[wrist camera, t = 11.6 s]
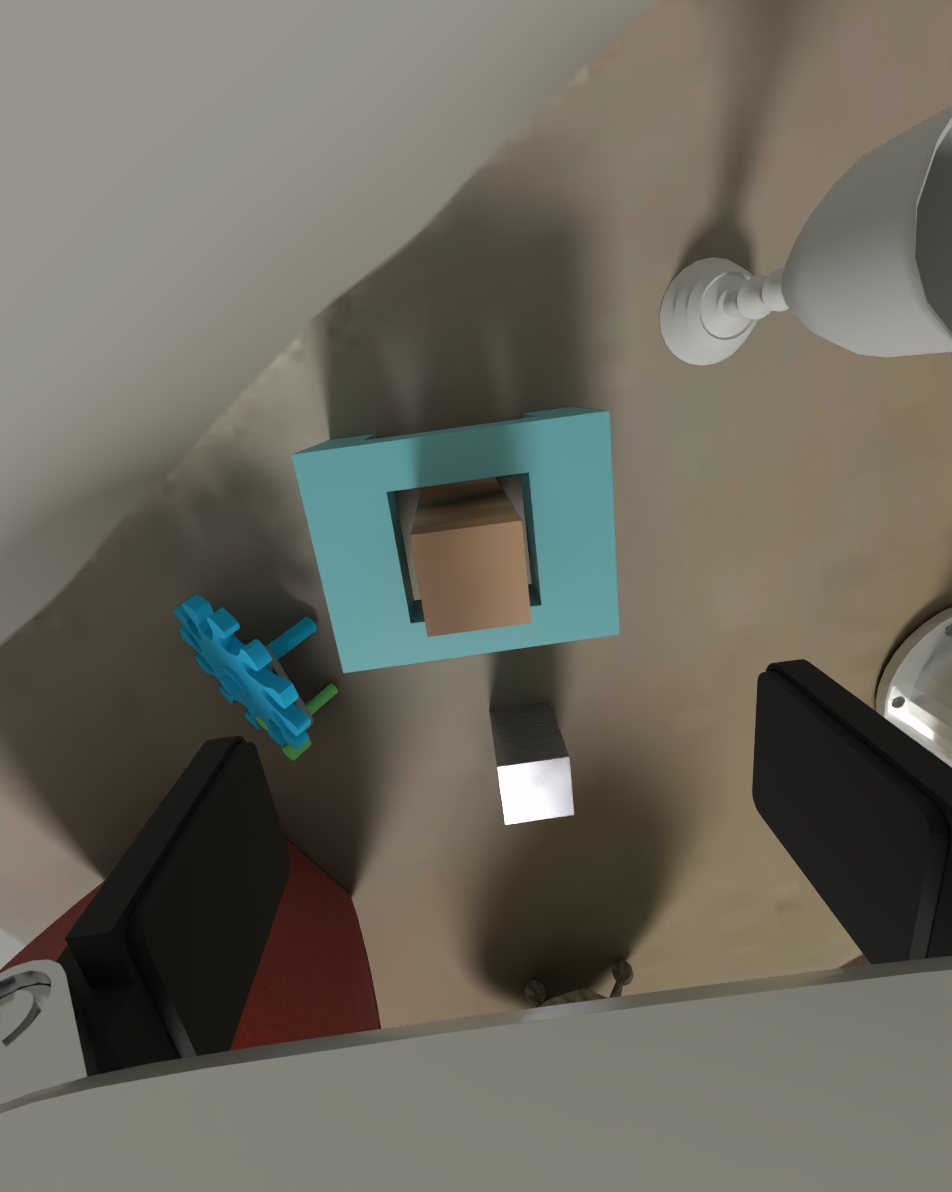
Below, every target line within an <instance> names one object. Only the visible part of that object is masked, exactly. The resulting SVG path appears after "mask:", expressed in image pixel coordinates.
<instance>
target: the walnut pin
mask: <svg viewBox="0 0 952 1192" xmlns="http://www.w3.org/2000/svg"><path fill="white" fill-rule="evenodd" d="M411 541H412V547H413V553H414V559H415V565H416V571H417V577H418V583H419V589H420V595H421V601H422V607H423V613H424V619H425V625H426V631H427V637H432V636H439V635H446V634H454V633H461V632H469V631H476V630H484V629H491V628H499V627H506V626H514V625H521V624H529V623H532V622H531V612H530V601H529V591H528V580H527V570H526V559H525V549H524V538H523V528H522V520H521V518H520V517H519V515H518V514H517V512H516V510H515V509H514V507H513V505H512V504H511V502H510V501H509V499H508V497H507V496H506V494H505V493H504V491H503V489H502V488H501V486H500V484H499V483H498V481H497V480H496V478H495V477H491V478H484V479H477V480H469V481H462V482H455V483H448V484H441V485H433V486H426V487H422V490H421V494H420V498H419V502H418V507H417V511H416V515H415V519H414V523H413V527H412V531H411Z"/></svg>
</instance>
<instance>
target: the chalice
mask: <svg viewBox="0 0 952 1192" xmlns="http://www.w3.org/2000/svg"><path fill="white" fill-rule="evenodd" d="M787 309H790V310H791V311H792V312H793V313H794V314H795V315H796V316H797V317H798V319H799V320H800V321H801V322H802V323H803V324H804V325H805V326H806V327H807V328H808V329H809V330H810V331H811V332H813V333H815V334H817V335H819V336H821V337H823V338H825V339H827V340H829V341H831V342H833V343H835V344H837V345H839V346H841V347H844V348H846V349H848V350H850V351H852V352H854V353H856V354H861V355H870V356H879V357H896V356H907V355H919V354H930V353H942V352H952V105H951V106H949V107H948V108H946V109H944V110H942V111H941V112H939V113H937V114H935V115H934V116H932V117H930V118H928V119H927V120H925V121H923V122H921V123H920V124H918V125H916V126H914V127H913V128H911V129H909V130H907V131H906V132H904V133H902V134H900V135H899V136H897V137H895V138H893V139H892V140H890V141H888V142H886V143H885V144H883V145H881V146H879V147H878V148H876V149H874V150H873V151H871V152H869V153H867V154H866V155H864V156H862V157H861V158H860V159H859V160H858V161H857V162H856V163H855V164H854V165H853V166H852V167H851V168H850V169H849V170H848V171H847V172H846V173H845V174H844V175H843V176H842V177H841V178H840V179H839V180H838V181H837V182H836V183H835V184H834V185H833V186H832V188H831V189H830V190H829V191H828V193H827V194H826V195H825V197H824V198H823V199H822V201H821V202H820V203H819V205H818V206H817V207H816V209H815V210H814V211H813V213H812V214H811V215H810V217H809V218H808V220H807V222H806V223H805V225H804V227H803V229H802V230H801V232H800V234H799V235H798V237H797V239H796V240H795V243H794V245H793V248H792V250H791V252H790V255H789V257H788V260H787V262H786V265H785V268H781V269H778V270H776V271H774V272H772V273H771V274H770V275H769V276H765V275H757V276H752V274H751V273H750V272H749V271H747V270H745V269H743V268H742V267H740V266H739V265H737V264H735V263H734V262H732V261H730V260H728V259H723V258H716V257H711V258H707V259H702V260H698V261H696V262H694V263H692V264H691V265H689V266H687V267H686V268H684V269H683V270H682V271H681V272H680V273H679V274H678V275H677V276H676V277H675V278H674V280H673V281H672V282H671V283H670V285H669V287H668V289H667V291H666V293H665V295H664V297H663V301H662V306H661V311H660V326H661V333H662V335H663V338H664V340H665V343H666V345H667V347H668V348H669V349H670V350H671V351H672V352H673V354H674V355H675V356H676V357H677V358H679V359H681V360H683V361H685V362H687V363H689V364H694V365H702V366H704V365H709V364H713V363H718V362H720V361H722V360H723V359H725V358H727V357H729V356H730V355H732V354H733V353H734V352H735V351H736V350H737V349H738V348H739V347H740V346H741V345H742V344H743V343H744V341H745V339H746V338H747V337H748V335H749V333H750V332H751V331H752V329H753V328H754V326H755V324H756V322H757V320H758V319H760V318H763V317H765V316H766V315H768V314H769V313H770V312H771V311H772V310H773V311H784V310H787Z"/></svg>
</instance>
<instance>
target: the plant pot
mask: <svg viewBox="0 0 952 1192" xmlns="http://www.w3.org/2000/svg"><path fill="white" fill-rule="evenodd" d="M285 842H286V845H287V848H288V851H289V855H290V874H289V878H288V881H287V884H286V887H285V890H284V893H283V896H282V899H281V902H280V904H279V907H278V910H277V913H276V916H275V919H274V922H273V925H272V928H271V931H270V934H269V937H268V940H267V943H266V946H265V949H264V952H263V955H262V957H261V960H260V963H259V966H258V969H257V972H256V975H255V978H254V981H253V984H252V987H251V990H250V993H249V996H248V999H247V1002H246V1005H245V1008H244V1011H243V1013H242V1016H241V1019H240V1022H239V1025H238V1028H237V1031H236V1034H235V1037H234V1040H233V1043H232V1046H231V1049H230V1051H232V1050H238V1049H245V1048H251V1047H257V1046H264V1045H270V1044H277V1043H284V1042H292V1041H299V1040H306V1039H313V1038H320V1037H327V1036H334V1035H342V1034H349V1033H356V1032H363V1031H370V1030H377V1029H381V1025H380V1019H379V1013H378V1007H377V1001H376V996H375V991H374V986H373V981H372V975H371V971H370V966H369V961H368V957H367V953H366V949H365V945H364V941H363V937H362V933H361V929H360V925H359V921H358V917H357V914H356V911H355V908H354V905H353V902H352V899H351V896H350V895H349V894H348V893H347V892H346V891H345V890H344V889H343V888H342V887H341V886H339V885H338V884H337V883H336V882H335V881H333V880H332V879H331V878H330V877H329V876H328V875H327V874H325V873H324V872H323V871H322V870H321V869H320V868H319V867H317V866H316V865H315V864H314V863H313V862H312V861H311V860H309V859H308V858H307V857H306V856H305V855H304V854H303V853H301V852H300V851H299V850H298V849H297V848H296V847H295V846H293V845H292V844H291V843H290V842H289V841H288V840H287V839H285ZM106 880H107V879H106ZM106 880H105V881H106ZM105 881H104V882H105ZM104 882H103V883H101V884H100V885H99V886H98V887H96V888H95V889H94V890H92V891H91V892H90V893H89V894H87V895H86V896H85V897H84V898H82V899H81V900H80V901H79V902H77V903H76V904H75V905H74V906H73V907H72V908H70V909H69V910H68V911H67V912H66V913H64V914H63V915H62V916H61V917H60V918H59V919H57V920H56V921H55V922H54V923H53V924H51V925H50V926H49V927H48V928H47V929H46V930H44V931H43V932H42V933H41V934H40V935H39V936H37V937H36V938H35V939H34V940H33V941H32V942H31V943H29V944H28V945H27V946H26V947H25V948H24V949H23V950H22V951H20V952H19V953H18V954H17V955H16V956H15V957H14V958H13V959H12V960H11V961H10V962H8V963H7V964H6V965H5V966H4V967H3V968H2V969H1V970H0V973H1V972H3V971H5V970H7V969H9V968H11V967H14V966H17V965H20V964H23V963H26V962H30V961H33V960H51V961H54V962H56V960H57V959H58V957H59V956H60V955H61V953H62V952H63V950H64V949H65V947H66V946H67V945H68V944H67V942H66V940H65V939H64V938H65V937H66V936H67V934H68V933H69V931H70V930H71V929H72V927H73V926H74V924H75V923H76V922H77V920H78V919H79V917H80V916H81V915H82V913H83V912H84V910H85V909H86V908H87V906H88V905H89V903H90V902H91V901H92V899H93V898H94V896H95V895H96V894H97V892H98V891H99V889H100V888H101V887H102V885H103V884H104Z"/></svg>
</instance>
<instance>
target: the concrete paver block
mask: <svg viewBox="0 0 952 1192" xmlns="http://www.w3.org/2000/svg"><path fill="white" fill-rule="evenodd" d="M489 712H490V719H491V727H492V734H493V741H494V748H495V755H496V762H497V769H498V776H499V783H500V790H501V797H502V804H503V811H504V818H505V825H506V824H513V823H520V822H527V821H534V820H541V819H548V818H555V817H562V816H569V815H574V807H573V795H572V783H571V772H570V760H569V755H568V752H567V749H566V746H565V743H564V740H563V738H562V735H561V732H560V729H559V726H558V723H557V720H556V717H555V714H554V712H553V709H552V706H551V703H550V701H547V702H540V703H533V704H526V705H519V706H512V707H505V708H498V709H491V710H489Z"/></svg>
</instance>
